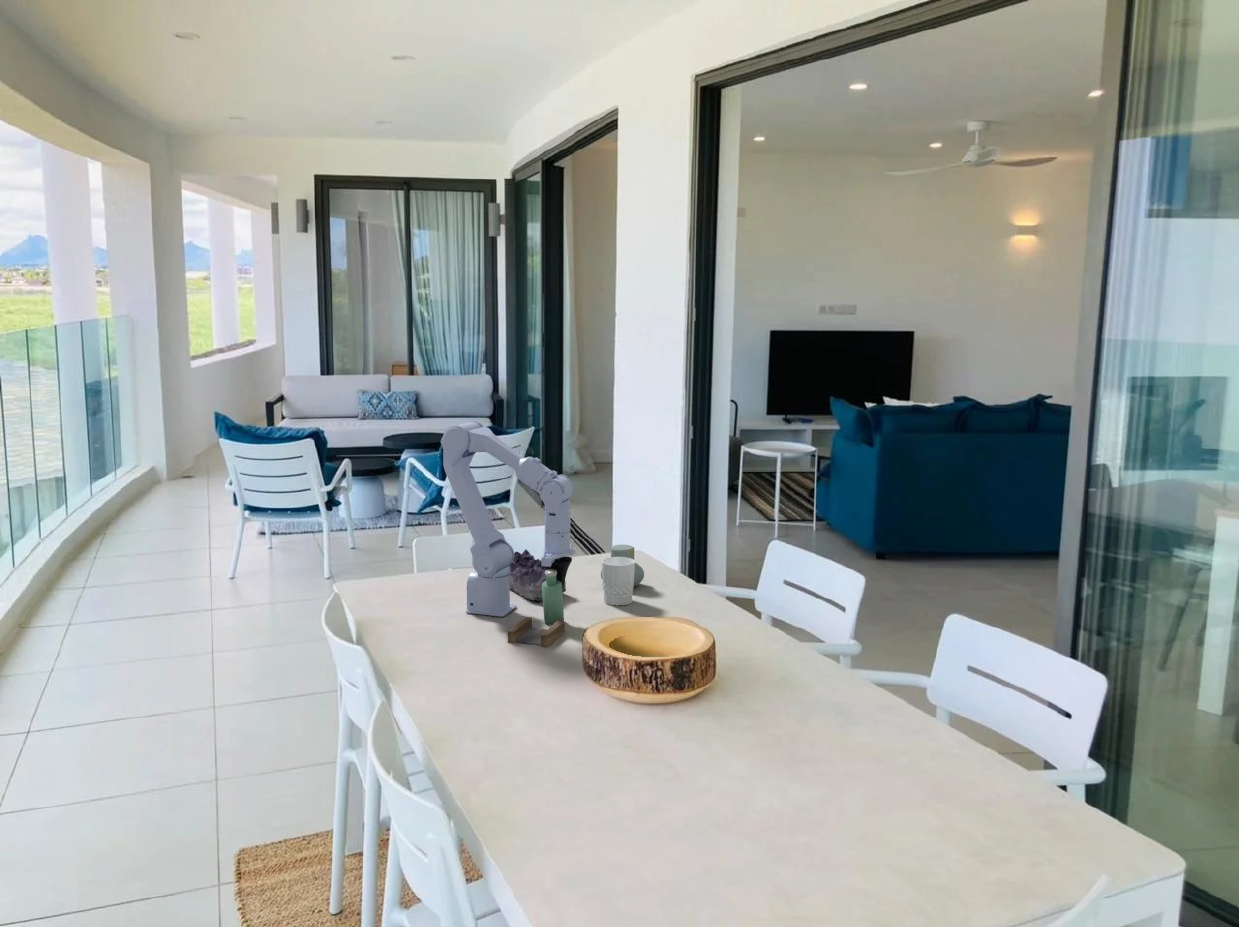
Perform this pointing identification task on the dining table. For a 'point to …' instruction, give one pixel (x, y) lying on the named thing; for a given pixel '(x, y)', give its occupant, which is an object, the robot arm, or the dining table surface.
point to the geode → (528, 576)
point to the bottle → (552, 598)
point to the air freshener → (628, 553)
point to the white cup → (618, 580)
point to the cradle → (535, 633)
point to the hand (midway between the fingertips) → (557, 589)
